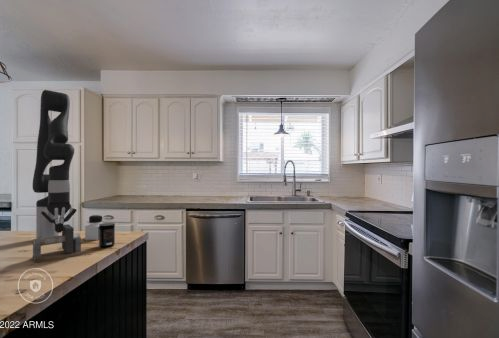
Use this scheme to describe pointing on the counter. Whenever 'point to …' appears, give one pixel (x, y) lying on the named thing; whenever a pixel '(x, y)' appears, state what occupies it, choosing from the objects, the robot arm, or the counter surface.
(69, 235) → the collar
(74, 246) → the pipe stand
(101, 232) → the supplement container
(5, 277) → the counter surface
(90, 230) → the medicine bottle
